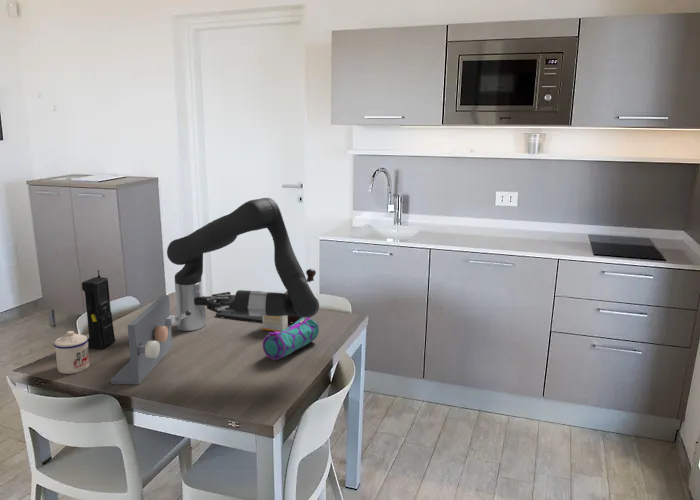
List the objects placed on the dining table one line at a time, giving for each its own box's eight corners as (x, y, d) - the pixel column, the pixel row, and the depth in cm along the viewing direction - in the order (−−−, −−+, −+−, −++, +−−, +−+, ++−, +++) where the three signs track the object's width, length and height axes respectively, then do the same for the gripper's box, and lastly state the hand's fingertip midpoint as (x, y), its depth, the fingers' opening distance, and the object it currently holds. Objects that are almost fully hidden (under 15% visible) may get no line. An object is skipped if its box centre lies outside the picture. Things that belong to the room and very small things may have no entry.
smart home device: (225, 307, 216) (271, 312, 211) (225, 311, 217) (271, 317, 211) (214, 313, 209) (262, 319, 203) (214, 318, 209) (262, 324, 204)
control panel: (176, 346, 180) (173, 295, 176) (144, 384, 154) (140, 325, 150) (148, 346, 181) (144, 294, 177) (111, 383, 154) (106, 324, 150)
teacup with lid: (78, 375, 159) (74, 338, 156) (50, 373, 160) (45, 336, 157) (102, 358, 170) (98, 323, 168) (75, 356, 171) (71, 322, 169)
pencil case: (298, 337, 191) (298, 311, 188) (319, 342, 186) (319, 316, 184) (261, 358, 173) (260, 330, 171) (283, 365, 169) (283, 336, 166)
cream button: (160, 353, 157) (159, 338, 156) (153, 360, 152) (152, 344, 151) (136, 353, 157) (135, 337, 156) (129, 360, 152) (128, 344, 151)
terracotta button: (168, 338, 168) (167, 323, 167) (162, 344, 163) (161, 329, 162) (146, 337, 168) (145, 323, 167) (139, 343, 163) (138, 328, 162)
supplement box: (288, 328, 198) (288, 294, 196) (282, 333, 194) (282, 298, 191) (268, 325, 201) (267, 291, 198) (262, 329, 197) (261, 295, 194)
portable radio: (101, 351, 176) (95, 277, 170) (85, 349, 177) (78, 275, 171) (116, 341, 183) (110, 270, 178) (100, 340, 185) (94, 269, 179)
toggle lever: (192, 313, 176) (189, 308, 176) (191, 315, 175) (188, 310, 174) (177, 321, 177) (174, 316, 177) (175, 323, 175) (172, 318, 175)
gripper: (256, 284, 168) (200, 282, 168) (247, 298, 155) (187, 296, 155) (256, 307, 169) (201, 305, 170) (247, 323, 157) (188, 320, 157)
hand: (194, 300), depth 162 cm, fingers closed
